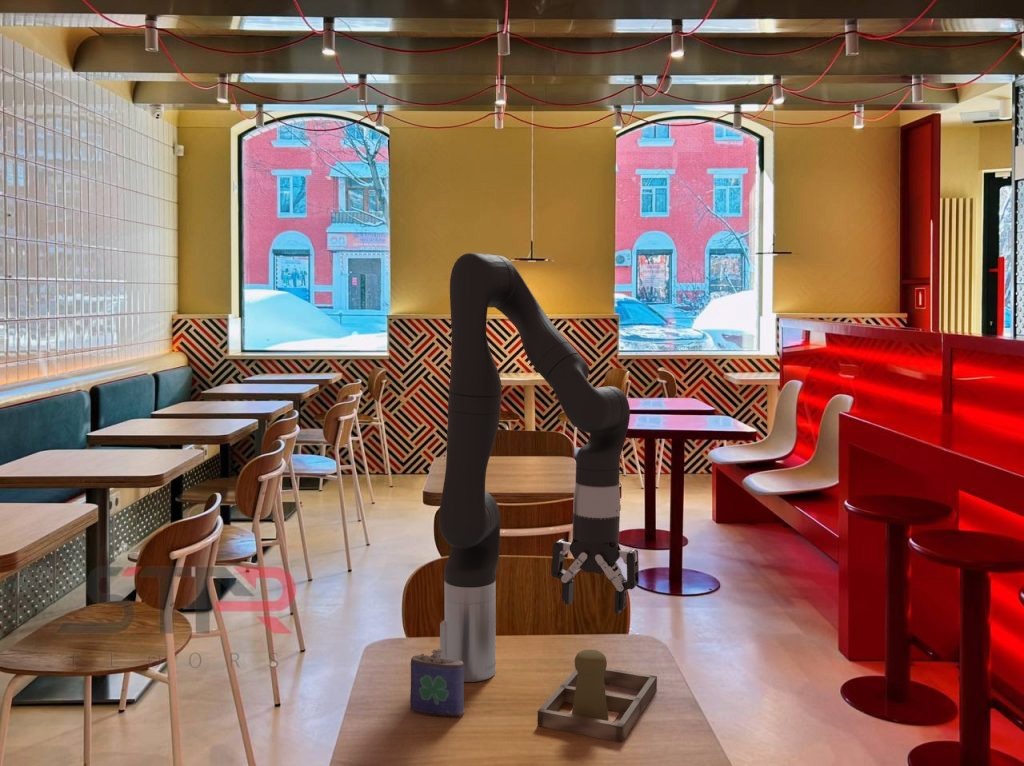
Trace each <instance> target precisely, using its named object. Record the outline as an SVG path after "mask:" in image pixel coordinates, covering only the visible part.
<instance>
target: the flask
mask: <svg viewBox="0 0 1024 766" xmlns="http://www.w3.org/2000/svg"><path fill="white" fill-rule="evenodd" d="M441 652H442V650H440V648H437V649H433V650H431V654H432V655H430V656H429V655H427V654H424V653H421V654H420V655H419V654H418V655H414V656H412V657H411V659H410V697H409V699H410V712H412V713H415V714H418V715H424V716H430V717H431V716H432V717H438V718H451V719H454V718H456V719H457V718H459V719H460V718H462V717H463V716H464V714H465V699H464V698H465V690H464V689H465V686H464V684H465V682H464V663H463V662H462V661H461V660H449V659H440V658H441V657H440V653H441Z"/></svg>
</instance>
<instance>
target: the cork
mask: <svg viewBox="0 0 1024 766" xmlns="http://www.w3.org/2000/svg"><path fill="white" fill-rule="evenodd" d="M607 665H608V662H607V657H606V655H605V653H603V652H601V651H599V650H597V649H583V650H581V651H579V652H577V653H576V655H575V657H574V668H575V669H576V670H577V672H578V675H577V682H576V688H575V695H574V702H573V704H572V709H571V710H572V714H573V715H578V716H584V717H589V718H595V719H600V720H605V721H608V720H609V719H608V711H609V710H607V702H606V693H607V692H606V688H605V687H606V686H605V685H606V684H604V677H603V673H604V671H605V670H606V668H608V667H607ZM575 669H574V670H575ZM605 692H606V693H605Z"/></svg>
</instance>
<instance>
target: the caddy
mask: <svg viewBox="0 0 1024 766" xmlns="http://www.w3.org/2000/svg"><path fill="white" fill-rule="evenodd" d="M577 675H578V672H577V670H576V669H574V670H573V671H572V672H571V674H570V675H569V676H568V677H566V679H565V680H564V681H563V682H562V683H561V684H560V686H559V687H558V688H557V689H556V690H555V691H554V692H553V693H552V694H551V696H549V697H548V699H547V700H546V701H545V702H544V703H543V704H542V705H541V706H540V708H539V709H538V710H537V725H538V726H537V727H540V726H541V728H546V727H547V728H546V729H551V730H556V731H562V732H566V733H572V734H578V735H581V736H582V735H583V736H587V737H593V738H599V739H602V740H603V739H604V740H608V741H613V742H614V741H615V742H617V743H623V742H624V741H625V739H626V737H627V736H628V734H629V733H630V732H631V730H632V728H633V727H634V725H635V724H636V722H637V721H638V719H639V718H640V716H641V715H642V713H643V711H644V710H645V709H646V707H647V706H648V704H649V703H650V701H651V699H652V698H653V696H654V695H655V693H656V692H657V690H658V686H657V685H658V676H657V675H652V674H646V673H640V672H634V671H627V670H622V669H617V668H608V667H606V670H605V671H604V673H603V677H604V685H610V684H611V685H610V686H617V687H621V688H628V689H629V688H630V689H634V690H640V691H639V692H638V694H637V695H636V696H635V697H634V696H628V695H623V694H616V693H612V692H611V693H610V692H606V691H605V693H606V702H607V710H608V719H609V720H608V721H605V720H600V719H595V718H589V717H584V716H578V715H573V714H572V709H571V710H570V711H569V713H567V712H561V711H559V709H560V708H561V707H562V706H563V705H564V704H565V703H566V702H568V703H567V704H572V703H573V702H574V695H575V688H576V682H577ZM564 702H565V703H564ZM563 703H564V704H563ZM562 704H563V705H562ZM557 710H558V711H557ZM620 714H623V715H622V717H621V718H619V719H620V720H619V721H618V722H615V721H616V720H617V718H618V717H619V716H620Z"/></svg>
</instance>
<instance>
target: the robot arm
mask: <svg viewBox="0 0 1024 766" xmlns="http://www.w3.org/2000/svg"><path fill="white" fill-rule="evenodd" d="M449 305H450V308H449V309H450V324H451V325H450V329H451V330H450V331H451V344H450V346H451V347H450V375H449V376H450V377H449V387H448V400H447V401H448V402H447V426H446V427H447V430H446V432H447V433H446V453H445V454H446V457H445V459H446V461H445V463H446V465H445V475H444V480H443V487H442V491H441V492H442V494H441V499H440V505H439V510H438V511H439V512H438V526H439V530H440V534H441V535H442V537H443V538H444V540H445V542H446V543H448V544H449V546H450V550H449V555H448V557H447V560H446V562H445V565H444V572H443V573H444V574H443V575H444V576H443V577H444V581H443V583H444V586H443V587H444V619H443V620H442V621H441V622H440V623H439V649H440V650H442V652H441V653H440V657H441V658H440V659H449V660H461V661H462V662H463V663H464V683H465V682H466V683H473V682H475V683H476V682H482V681H486V680H488V679H490V678H492V677H493V676H494V675H495V674H496V670H497V669H496V663H497V660H496V659H497V658H496V657H497V656H496V654H497V653H496V651H497V650H496V649H497V645H496V642H497V640H496V636H497V634H496V632H497V631H496V628H497V626H496V622H497V621H496V620H497V619H496V618H497V617H496V611H497V609H496V606H497V605H496V600H497V599H496V592H497V591H496V589H497V588H496V585H497V584H496V582H497V578H496V577H497V568H498V565H499V558H500V542H501V541H500V540H501V535H500V534H501V515H500V509H499V506H498V503H497V502H496V499H495V498H494V497H493V496H492V495H491V494H490V493H489V492H487V491H486V474H487V469H488V465H489V460H490V457H491V454H492V451H493V447H494V445H495V440H496V437H497V434H498V430H499V425H500V421H501V420H500V419H501V409H502V407H501V406H502V393H503V391H502V380H501V377H500V373H499V370H498V369H499V368H498V367H497V365H496V362H495V359H494V357H493V355H492V351H491V349H490V346H489V342H488V337H487V336H488V335H487V318H488V308H495V309H496V310H497V311H499V313H502V314H503V316H504V317H506V318H507V319H508V320H509V321H510V322H511V323H512V324H513V326H514V327H515V329H516V330H517V333H518V334H519V338H520V340H521V344H522V347H523V351H524V352H525V353H524V354H525V355H526V357H527V359H528V360H529V362H530V363H531V365H532V366H533V368H534V369H535V370H536V371H537V372H538V373H539V374H540V376H541V378H542V379H544V381H545V382H547V384H548V385H549V386H550V387H551V388H552V389H553V391H554V395H555V397H556V398H557V400H558V402H559V404H560V405H559V406H561V408H562V412H564V415H565V416H566V418H567V419H568V421H569V422H570V423H571V424H572V425H573V426H574V427H575V428H577V429H578V430H580V431H582V432H583V433H587V434H589V438H588V441H587V442H586V444H584V445H583V446H581V447H580V448H579V449H578V451H577V453H576V459H575V483H574V485H575V486H574V491H573V500H572V501H573V502H572V503H573V506H572V507H573V508H572V510H573V511H572V541H571V542H570V541H569V542H568V541H566V540H565V539H564V538H560V539H558V540H557V541H556V542H554V543H553V547H552V559H551V569H550V570H551V571H550V574H551V577H553V578H557V579H558V580H560V581H561V600H562V601H563V602H564V605H566V606H570V605H571V604H572V603H573V602H574V590H575V589H574V587H575V583H574V582H575V580H574V579H573V578H574V577H575V576H576V575H577V573H579V571H580V570H582V571H583V572H584V573H595V574H597V575H603V574H605V576H606V578H607V579H608V581H610V582H611V583H612V584H613V586H614V587H615V589H616V590H614V614H619V615H620V614H621V612H622V611H623V610H625V608H626V606H627V594H628V593H627V590H634V589H635V588H636V587H637V586H638V585H639V583H640V576H639V575H640V573H639V572H640V571H639V552H638V551H639V550H638V549H636V548H633V549H631V550H627V549H621V546H620V544H619V542H620V521H621V519H620V515H621V509H622V508H621V492H620V491H621V490H620V470H621V469H620V468H621V467H620V466H621V465H620V464H621V463H620V462H621V461H620V460H621V455H622V452H623V449H624V446H625V441H626V436H627V433H628V431H629V430H628V429H629V424H630V419H631V417H630V416H631V409H630V404H629V400H628V398H627V395H626V394H625V392H623V391H622V390H621V389H620V388H618V387H616V386H612V385H610V386H609V385H607V386H600V387H593V385H592V384H591V383H590V382H589V380H588V377H589V373H590V367H589V365H588V363H587V361H586V360H585V359H584V358H583V357H582V355H581V354H580V353H579V352H578V351H577V350H576V348H575V347H574V346H573V345H572V344H571V343H570V342H569V341H568V340H567V338H565V336H563V334H562V333H561V332H560V331H559V330H558V328H557V327H556V326H555V324H553V321H552V320H551V319H550V318H549V317H548V315H547V314H546V313H545V311H544V309H543V308H542V306H541V305H540V303H539V302H538V300H537V299H536V297H535V296H534V295H533V293H532V291H531V290H530V288H529V287H528V285H527V284H526V282H525V280H524V278H523V277H522V275H521V274H520V272H519V271H518V269H517V268H516V266H515V265H514V264H513V262H512V261H510V259H508V258H506V257H505V256H503V255H500V254H499V255H498V254H493V253H492V254H490V253H480V252H479V253H478V252H468V253H464V254H462V255H460V257H458V258H457V259H456V261H455V262H454V264H453V267H452V268H451V273H450V278H449ZM568 552H569V553H570V554H571V556H572V557H573V558H574V561H573V562H572V564H570V566H569V567H568V569H567V570H565V569H564V563H565V555H567V553H568ZM620 558H622V561H623V563H624V564H625V565H626V577H625V576H624V574H623V571H622V569H621V567H620V566H619V564H618V563H617V561H618V560H619V559H620Z"/></svg>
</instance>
